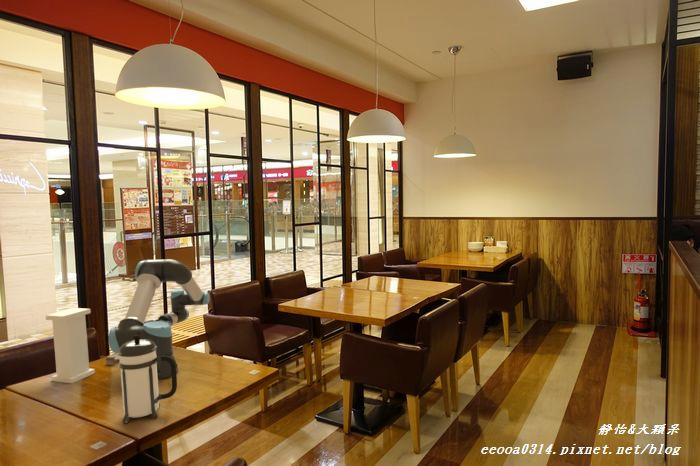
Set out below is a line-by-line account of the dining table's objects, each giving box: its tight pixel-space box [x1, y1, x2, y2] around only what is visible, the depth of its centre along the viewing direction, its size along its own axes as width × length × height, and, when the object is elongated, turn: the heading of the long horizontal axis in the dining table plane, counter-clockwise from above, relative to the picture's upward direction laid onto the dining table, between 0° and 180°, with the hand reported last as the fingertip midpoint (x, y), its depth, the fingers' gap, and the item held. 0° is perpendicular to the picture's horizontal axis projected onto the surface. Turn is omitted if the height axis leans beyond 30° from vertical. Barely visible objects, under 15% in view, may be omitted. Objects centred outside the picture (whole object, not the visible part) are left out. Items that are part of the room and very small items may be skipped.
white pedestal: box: [45, 307, 96, 384], centre depth 207 cm, size 14×12×30 cm
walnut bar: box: [105, 352, 120, 366], centre depth 235 cm, size 24×4×4 cm, turn 171°
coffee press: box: [114, 335, 178, 424], centre depth 168 cm, size 17×16×30 cm
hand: (139, 330), depth 244 cm, fingers open, 13 cm apart
